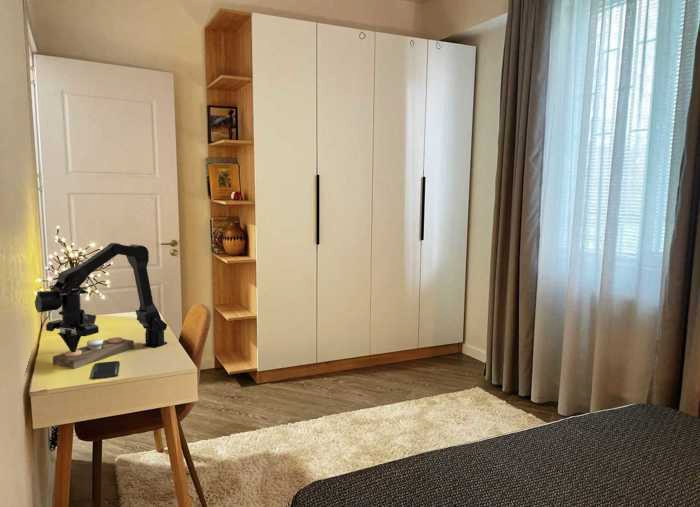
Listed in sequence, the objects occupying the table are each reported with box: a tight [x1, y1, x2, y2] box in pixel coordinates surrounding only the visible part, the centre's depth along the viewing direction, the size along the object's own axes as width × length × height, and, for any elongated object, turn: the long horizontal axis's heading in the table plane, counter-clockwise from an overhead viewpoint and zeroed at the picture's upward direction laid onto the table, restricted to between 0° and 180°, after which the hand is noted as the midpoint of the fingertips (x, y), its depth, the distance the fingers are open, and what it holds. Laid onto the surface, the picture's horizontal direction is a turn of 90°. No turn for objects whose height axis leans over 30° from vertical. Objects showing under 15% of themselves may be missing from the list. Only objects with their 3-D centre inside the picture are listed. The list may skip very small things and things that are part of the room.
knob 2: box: [106, 336, 124, 344], centre depth 197 cm, size 5×5×4 cm
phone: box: [91, 360, 120, 380], centre depth 174 cm, size 8×1×15 cm
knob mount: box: [52, 338, 135, 370], centre depth 189 cm, size 10×26×3 cm, turn 157°
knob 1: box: [64, 350, 82, 358], centre depth 181 cm, size 5×5×4 cm
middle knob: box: [86, 338, 104, 351], centre depth 189 cm, size 5×5×4 cm
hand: (73, 352), depth 180 cm, fingers closed, pressing on knob 1
